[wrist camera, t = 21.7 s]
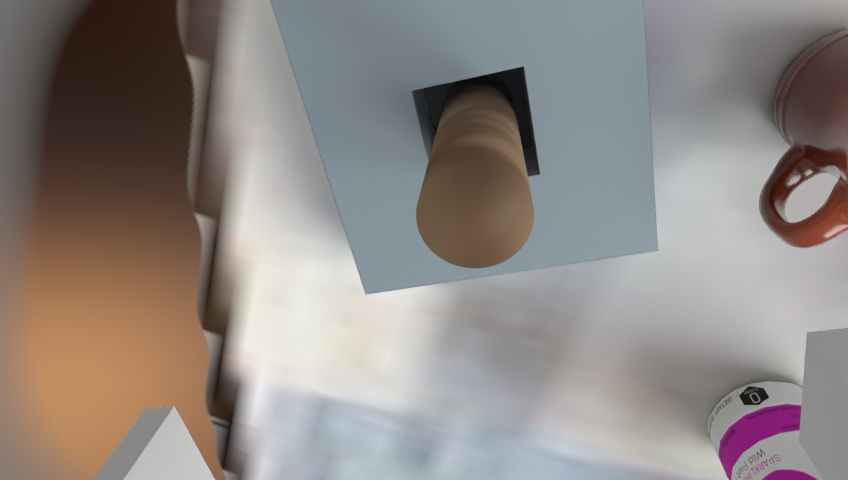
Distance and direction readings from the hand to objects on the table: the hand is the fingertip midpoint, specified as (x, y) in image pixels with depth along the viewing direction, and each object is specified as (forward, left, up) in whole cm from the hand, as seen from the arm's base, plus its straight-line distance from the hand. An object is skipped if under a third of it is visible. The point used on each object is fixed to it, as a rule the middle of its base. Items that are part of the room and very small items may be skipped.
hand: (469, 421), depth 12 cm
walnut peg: (0, 0, -26) cm, 26 cm away
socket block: (0, 0, -26) cm, 26 cm away
